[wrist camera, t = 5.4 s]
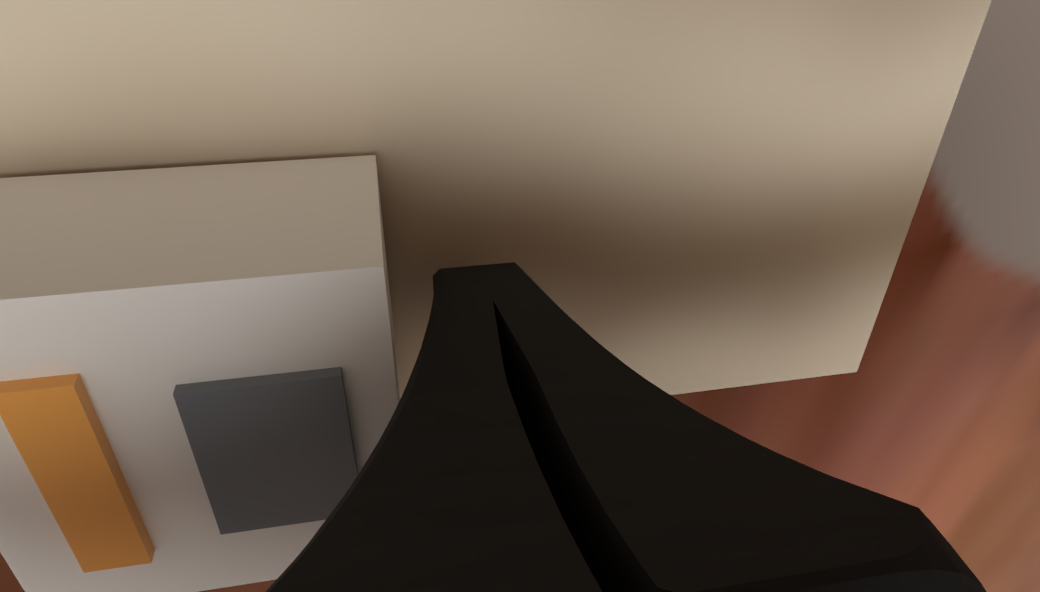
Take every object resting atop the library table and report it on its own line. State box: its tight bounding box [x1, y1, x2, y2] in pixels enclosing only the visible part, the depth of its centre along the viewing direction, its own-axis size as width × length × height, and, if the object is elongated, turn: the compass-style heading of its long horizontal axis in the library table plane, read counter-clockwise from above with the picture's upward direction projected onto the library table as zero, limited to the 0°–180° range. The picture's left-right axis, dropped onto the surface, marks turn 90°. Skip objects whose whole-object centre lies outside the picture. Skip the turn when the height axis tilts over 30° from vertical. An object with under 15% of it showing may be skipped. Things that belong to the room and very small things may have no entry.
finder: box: [0, 155, 401, 592], centre depth 10 cm, size 5×5×3 cm
